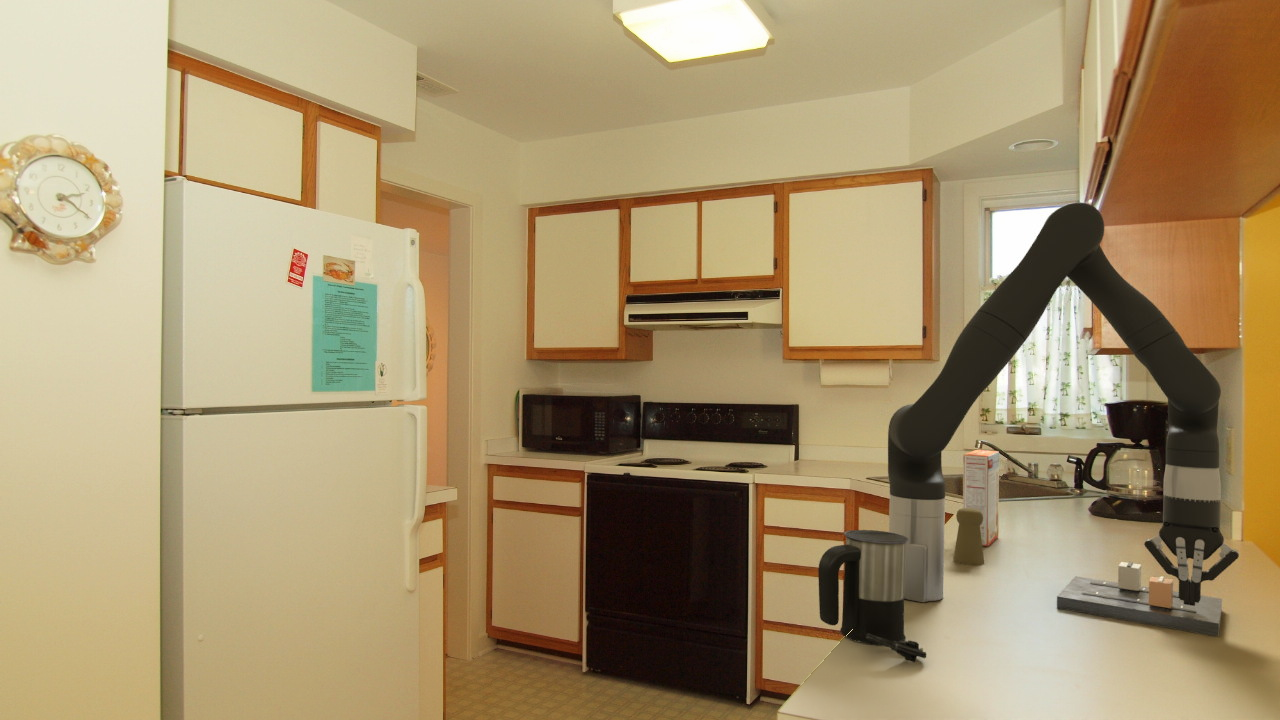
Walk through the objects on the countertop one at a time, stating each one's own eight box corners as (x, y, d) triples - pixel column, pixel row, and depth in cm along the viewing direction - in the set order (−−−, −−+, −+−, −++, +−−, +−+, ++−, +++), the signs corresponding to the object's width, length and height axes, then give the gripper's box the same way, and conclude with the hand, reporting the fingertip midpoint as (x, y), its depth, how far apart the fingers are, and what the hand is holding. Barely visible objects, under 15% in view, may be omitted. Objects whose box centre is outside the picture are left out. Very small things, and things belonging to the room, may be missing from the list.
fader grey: (1138, 590, 139) (1138, 567, 139) (1118, 587, 141) (1118, 564, 141) (1140, 586, 142) (1141, 563, 142) (1121, 583, 144) (1121, 560, 144)
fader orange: (1170, 608, 128) (1171, 582, 129) (1148, 604, 130) (1149, 579, 130) (1172, 603, 132) (1173, 578, 132) (1151, 599, 133) (1151, 574, 134)
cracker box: (972, 534, 199) (974, 449, 199) (999, 537, 196) (1000, 450, 196) (960, 543, 187) (962, 453, 187) (988, 547, 184) (990, 455, 184)
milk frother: (864, 622, 125) (866, 526, 125) (961, 651, 113) (964, 544, 113) (806, 640, 116) (809, 536, 116) (906, 674, 104) (908, 557, 104)
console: (1218, 636, 122) (1218, 622, 122) (1056, 608, 136) (1057, 595, 136) (1221, 610, 137) (1221, 598, 137) (1075, 587, 150) (1075, 575, 150)
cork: (987, 565, 165) (988, 511, 166) (956, 563, 167) (957, 510, 167) (981, 559, 171) (982, 507, 171) (950, 557, 172) (951, 505, 173)
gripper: (1140, 492, 130) (1138, 601, 130) (1243, 502, 122) (1241, 618, 122) (1145, 487, 136) (1143, 591, 136) (1243, 496, 128) (1241, 607, 128)
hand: (1189, 604), depth 129 cm, fingers closed
